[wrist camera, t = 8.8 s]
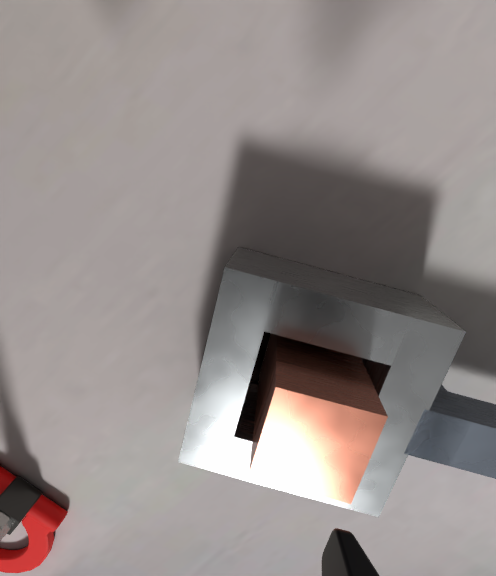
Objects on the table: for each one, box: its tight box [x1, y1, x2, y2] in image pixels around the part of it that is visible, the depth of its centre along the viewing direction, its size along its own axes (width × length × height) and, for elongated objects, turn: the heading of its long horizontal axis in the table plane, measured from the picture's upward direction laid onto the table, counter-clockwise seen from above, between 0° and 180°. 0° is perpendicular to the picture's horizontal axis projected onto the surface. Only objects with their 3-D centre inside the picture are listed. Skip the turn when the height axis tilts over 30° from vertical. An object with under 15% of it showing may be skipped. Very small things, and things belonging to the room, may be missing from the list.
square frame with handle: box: [178, 247, 496, 517], centre depth 18 cm, size 20×10×5 cm, turn 76°
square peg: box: [248, 333, 388, 504], centre depth 17 cm, size 4×4×8 cm
